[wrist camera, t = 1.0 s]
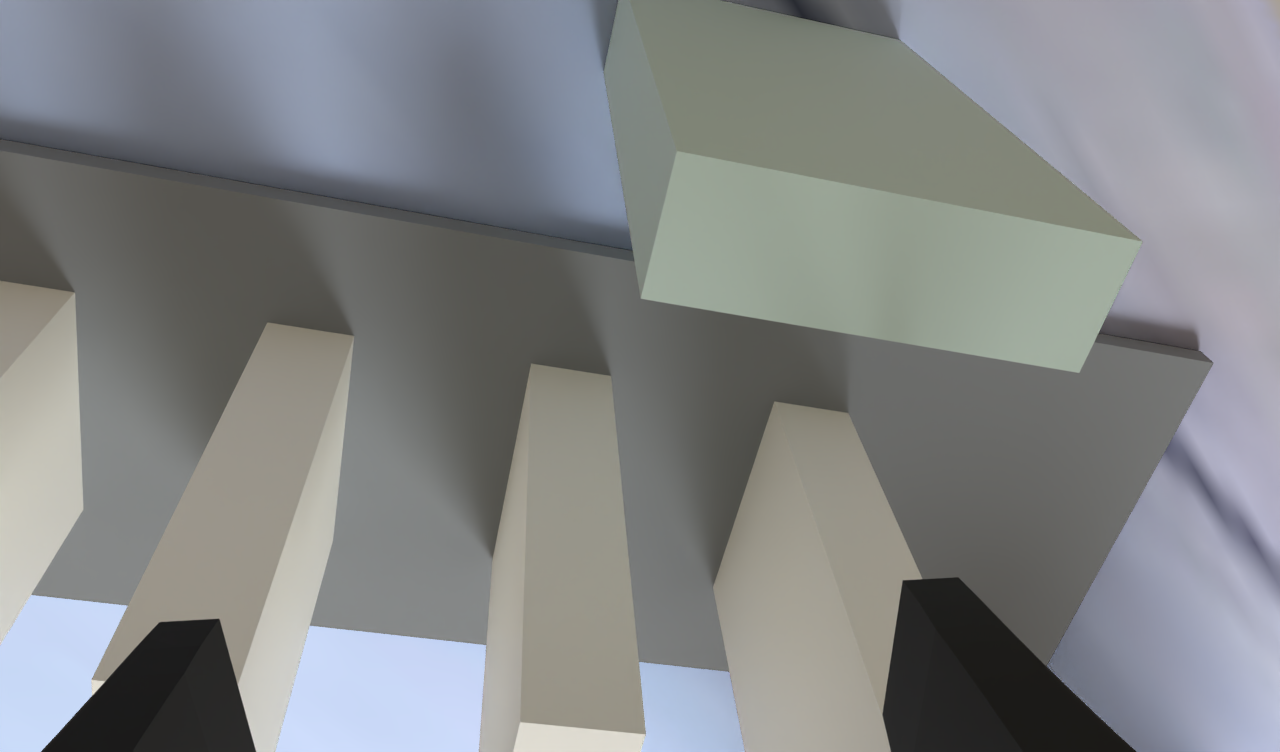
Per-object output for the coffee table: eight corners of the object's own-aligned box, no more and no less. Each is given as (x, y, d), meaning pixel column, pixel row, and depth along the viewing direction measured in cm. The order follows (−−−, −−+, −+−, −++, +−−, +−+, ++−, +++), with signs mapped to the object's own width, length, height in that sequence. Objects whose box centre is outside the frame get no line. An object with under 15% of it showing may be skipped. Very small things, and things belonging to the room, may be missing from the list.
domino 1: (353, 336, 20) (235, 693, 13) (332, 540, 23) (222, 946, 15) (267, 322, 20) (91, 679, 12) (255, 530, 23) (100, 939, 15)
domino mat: (1200, 351, 23) (1213, 362, 22) (1017, 689, 27) (1025, 704, 27) (-224, 100, 18) (-243, 108, 18) (-145, 558, 23) (-158, 574, 22)
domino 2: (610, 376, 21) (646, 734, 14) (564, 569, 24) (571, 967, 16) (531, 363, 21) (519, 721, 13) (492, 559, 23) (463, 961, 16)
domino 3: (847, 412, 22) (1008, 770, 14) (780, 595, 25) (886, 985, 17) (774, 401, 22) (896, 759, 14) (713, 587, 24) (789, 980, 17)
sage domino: (622, -22, 18) (677, 150, 10) (899, 39, 19) (1142, 242, 11) (603, 72, 19) (640, 299, 11) (870, 126, 20) (1079, 373, 12)
